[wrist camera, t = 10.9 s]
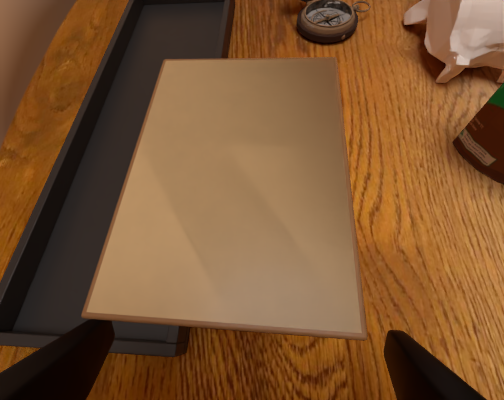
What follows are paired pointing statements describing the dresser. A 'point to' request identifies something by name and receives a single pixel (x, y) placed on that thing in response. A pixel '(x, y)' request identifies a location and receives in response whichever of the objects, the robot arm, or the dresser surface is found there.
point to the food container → (485, 138)
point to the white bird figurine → (462, 33)
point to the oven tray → (102, 179)
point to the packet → (237, 205)
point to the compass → (328, 20)
